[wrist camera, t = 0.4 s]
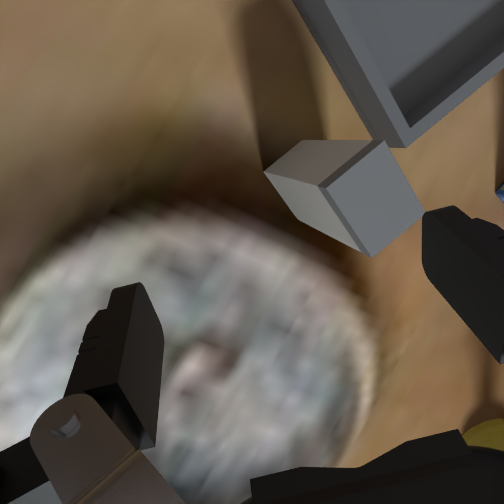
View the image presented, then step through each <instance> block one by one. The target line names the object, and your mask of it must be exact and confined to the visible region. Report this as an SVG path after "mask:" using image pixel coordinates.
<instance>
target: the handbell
mask: <svg viewBox="0 0 504 504" xmlns="http://www.w3.org/2000/svg"><path fill="white" fill-rule="evenodd" d="M462 437H463V438H464V440H465V442H466V443H467V445H470V446H481V447H489V448H493V449H498V450H502V451H504V419H502V418H497V419H492V420H487V421H484V422H482V423H480V424H478V425H476V426H474V427H472V428H470V429H469V430H468V431H467V432H465V433H464V434H463V435H462Z"/></svg>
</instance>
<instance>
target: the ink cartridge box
mask: <svg viewBox="0 0 504 504" xmlns="http://www.w3.org/2000/svg"><path fill="white" fill-rule="evenodd" d="M496 194H497V195H498V197H499V198H500V199H501V200H502V201H503V202H504V183H503V184H502V185H501V186H500V188H499V189H498V190H497V191H496Z"/></svg>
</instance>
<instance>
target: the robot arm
mask: <svg viewBox="0 0 504 504" xmlns="http://www.w3.org/2000/svg"><path fill="white" fill-rule="evenodd" d="M422 264H423V268H424V271H425V274H426V276H427V277H428V279H429V280H430V282H431V283H432V284H433V285H434V286H435V288H436V289H437V290H438V291H439V292H440V293H441V295H442V296H443V297H444V298H445V299H446V301H447V302H448V303H449V304H450V305H451V307H452V308H453V309H454V310H455V311H456V313H457V314H458V315H459V316H460V317H461V318H462V320H463V321H464V322H465V323H466V324H467V326H468V327H469V328H470V329H471V330H472V332H473V333H474V334H475V335H476V336H477V338H478V339H479V340H480V341H481V342H482V343H483V345H484V346H485V347H486V348H487V349H488V351H489V352H490V353H491V354H492V355H493V357H494V358H495V359H496V360H497V361H498V362H499V364H503V363H504V230H503V229H501V228H500V227H499V226H497V225H496V224H493V223H490V222H487V221H485V220H482V219H479V218H474V219H471V218H470V217H469V216H467V215H466V214H465V213H464V212H462V211H461V210H460V209H459V208H457V207H456V206H448V207H444V208H440V209H436V210H432V211H428V212H425V213H424V214H423V217H422ZM82 340H83V342H82V343H81V345H80V348H79V351H78V352H79V355H77V357H76V360H75V363H74V366H73V369H72V372H71V375H70V378H69V381H68V384H67V387H66V390H65V393H64V397H63V398H62V399H60V400H59V401H57V402H55V403H54V404H52V405H51V406H50V407H49V408H47V409H46V410H45V411H44V412H43V413H42V414H41V416H40V417H39V418H38V419H37V421H36V422H35V424H34V426H33V428H32V431H31V433H30V437H28V438H26V439H24V440H22V441H20V442H18V443H17V444H15V445H13V446H11V447H9V448H7V449H5V450H3V451H1V452H0V504H185V503H184V502H183V500H182V499H181V498H180V497H179V496H178V494H177V493H176V492H175V491H174V490H173V489H172V487H171V486H170V485H169V484H168V483H167V481H166V480H165V479H164V478H163V477H162V475H161V474H160V473H159V472H158V471H157V469H156V468H155V467H154V466H153V465H152V464H151V462H150V461H149V460H148V459H147V458H146V456H145V455H144V454H143V453H142V452H141V451H140V450H144V449H148V448H152V447H155V443H156V432H157V421H158V409H159V398H160V386H161V375H162V363H163V352H164V335H163V330H162V326H161V323H160V321H159V319H158V316H157V314H156V312H155V310H154V307H153V305H152V303H151V301H150V299H149V296H148V294H147V292H146V290H145V288H144V286H143V284H142V283H140V282H138V283H134V284H130V285H126V286H122V287H118V288H114V289H113V290H112V292H111V296H110V300H109V303H108V307H107V309H103V310H99V311H98V312H97V313H96V314H95V316H94V317H93V318H92V320H91V321H90V322H89V323H88V325H87V327H86V330H85V333H84V336H83V339H82ZM250 484H251V492H252V497H250V498H249V499H247V500H245V501H243V502H242V503H241V504H504V451H502V450H498V449H493V448H489V447H481V446H470V445H467V443H466V442H465V440H464V438H463V437H462V435H461V433H460V432H459V430H458V429H456V430H451V431H447V432H443V433H439V434H435V435H431V436H427V437H423V438H418V439H414V440H410V441H406V442H405V443H403V444H401V445H399V446H397V447H396V448H394V449H392V450H390V451H388V452H387V453H385V454H383V455H381V456H379V457H378V458H376V459H374V460H372V461H370V462H369V463H367V464H365V465H363V466H361V467H357V468H326V467H299V468H294V469H290V470H286V471H282V472H278V473H274V474H270V475H266V476H261V477H257V478H253V479H250Z"/></svg>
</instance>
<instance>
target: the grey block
mask: <svg viewBox="0 0 504 504" xmlns="http://www.w3.org/2000/svg"><path fill="white" fill-rule="evenodd" d="M263 172H264V173H265V174H266V176H267V177H268V179H269V180H270V181H271V183H272V184H273V186H274V187H275V188H276V190H277V191H278V193H279V194H280V195H281V197H282V198H283V199H284V201H285V202H286V204H287V205H288V206H289V208H290V209H291V211H292V212H293V213H294V215H295V216H296V218H297V219H298V220H300V221H302V222H304V223H306V224H308V225H310V226H312V227H313V228H315V229H317V230H319V231H321V232H323V233H325V234H327V235H329V236H331V237H333V238H335V239H337V240H339V241H340V242H342V243H344V244H346V245H348V246H350V247H352V248H354V249H356V250H358V251H360V252H362V253H364V254H365V255H367V256H369V257H371V258H373V257H374V256H375V255H376V254H378V253H379V252H380V251H381V250H382V249H384V248H385V247H386V246H387V245H388V244H390V243H391V242H392V241H393V240H394V239H396V238H397V237H398V236H399V235H401V234H402V233H403V232H404V231H405V230H407V229H408V228H409V227H410V226H411V225H413V224H414V223H415V222H416V221H417V220H419V219H420V218H421V217H422V216H423V214H424V213H425V210H424V209H423V207H422V205H421V203H420V202H419V200H418V198H417V196H416V195H415V193H414V191H413V189H412V188H411V186H410V184H409V182H408V181H407V179H406V177H405V175H404V174H403V172H402V170H401V168H400V166H399V165H398V163H397V161H396V159H395V158H394V156H393V154H392V152H391V151H390V149H389V147H388V145H387V144H386V142H385V140H302V141H300V142H299V143H298V144H297V145H295V146H294V147H293V148H292V149H290V150H289V151H288V152H287V153H286V154H284V155H283V156H282V157H281V158H279V159H278V160H277V161H276V162H274V163H273V164H272V165H271V166H270V167H268V168H267V169H266V170H265V171H263Z"/></svg>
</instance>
